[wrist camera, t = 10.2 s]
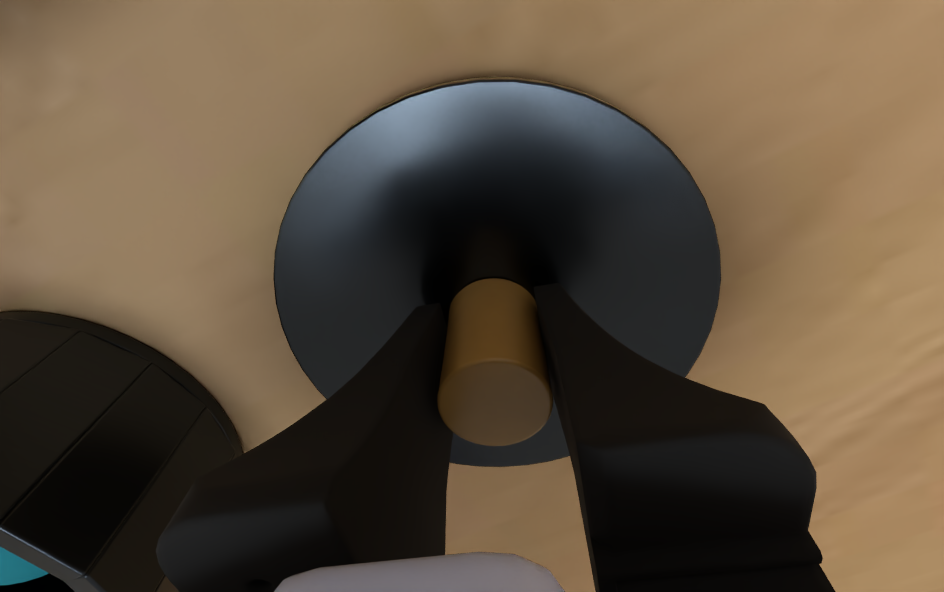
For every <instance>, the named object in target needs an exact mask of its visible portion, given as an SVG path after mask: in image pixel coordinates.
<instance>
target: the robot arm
mask: <svg viewBox="0 0 944 592" xmlns="http://www.w3.org/2000/svg"><path fill="white" fill-rule="evenodd" d="M534 294H535V300H536V306H537V311H538V317H539V323H540V329H541V335H542V339H543V343H544V347H545V351H546V357H547V363H548V369H549V375H550V381H551V387H552V393H553V397H554V401H555V404H556V408H557V411H558V415H559V419H560V422H561V426H562V429H563V433H564V436H565V440H566V443H567V447H568V450H569V454H570V457H571V461H572V465H573V470H574V474H575V479H576V485H577V490H578V496H579V501H580V507H581V512H582V518H583V524H584V529H585V535H586V540H587V546H588V551H589V557H590V563H591V568H592V574H593V579H594V585H595V591H596V592H835V590H834V589H833V587H832V585H831V584H830V582H829V580H828V579H827V577H826V575H825V573H824V572H823V570H822V568H821V567H820V565H819V564H820V563H822V554H821V551H820V549H819V548H818V546H817V545H816V543H815V541H814V540H813V538H812V536H811V535H810V533H809V531H808V527H809V522H810V517H811V512H812V508H813V503H814V498H815V493H816V471H815V469H814V467H813V465H812V463H811V461H810V459H809V457H808V456H807V454H806V453H805V452H804V450H803V449H802V448H801V446H800V445H799V443H798V442H797V441H796V439H795V438H794V437H793V436H792V434H791V433H790V432H789V431H788V430H787V429H786V427H785V426H784V425H783V424H782V423H781V422H780V421H779V420H778V419H777V418H776V417H775V416H774V415H773V414H772V412H771V411H770V410H769V409H768V408H767V407H766V406H765V405H764V404H762V403H759V402H756V401H752V400H749V399H746V398H742V397H739V396H735V395H732V394H729V393H725V392H722V391H719V390H716V389H713V388H710V387H707V386H705V385H702V384H700V383H697V382H694V381H692V380H689V379H687V378H684V377H682V376H680V375H678V374H675V373H673V372H671V371H669V370H667V369H665V368H663V367H661V366H659V365H657V364H655V363H653V362H651V361H649V360H647V359H646V358H644V357H642V356H640V355H639V354H637V353H635V352H634V351H632V350H631V349H629V348H628V347H626V346H625V345H623V344H622V343H621V342H619V341H618V340H617V339H615V338H614V337H613V336H612V335H610V334H609V333H608V332H607V331H605V330H604V329H603V328H602V327H601V326H599V325H598V324H597V323H596V322H595V321H594V320H593V319H592V318H591V317H590V316H589V315H587V314H586V313H585V312H584V311H583V310H582V309H581V308H580V307H579V305H578V304H577V303H576V302H575V301H574V300H573V299H572V298H571V296H570V295H569V294H568V293H567V291H566V290H565V289H564V287H563V286H562V285H560V284H559V283H554V284H548V285H542V286H536V287H534ZM446 327H447V326H446V323H445V319H444V315H443V312H442V308H441V305H440V303H435V304H429V305H423V306H417V307H416V308H415V309H414V310H413V311H412V312H411V314H410V315H409V316H408V317H407V318H406V320H405V321H404V322H403V323H402V324H401V326H400V327H399V328H398V329H397V330H396V331H395V333H394V334H393V335H392V336H391V337H390V338H389V340H388V341H387V342H386V343H385V344H384V345H383V347H382V348H381V349H380V350H379V351H378V352H377V353H376V354H375V355H374V356H373V357H372V358H371V359H370V360H369V361H368V362H367V363H366V364H365V366H364V367H363V368H362V369H361V370H360V371H359V372H358V373H357V374H356V375H355V376H354V377H353V378H351V379H350V380H349V381H348V382H347V383H346V384H345V385H344V386H343V387H341V388H340V389H339V390H338V391H337V392H335V393H334V394H333V395H332V396H331V397H330V398H328V399H327V400H326V401H324V402H323V403H322V404H320V405H319V406H318V407H316V408H315V409H314V410H312V411H311V412H309V413H308V414H307V415H305V416H304V417H303V418H301V419H300V420H298V421H297V422H296V423H294V424H293V425H291V426H290V427H288V428H287V429H285V430H283V431H282V432H280V433H279V434H277V435H276V436H274V437H272V438H271V439H269V440H267V441H266V442H264V443H262V444H260V445H259V446H257V447H255V448H254V449H252V450H250V451H248V452H246V453H245V454H243V455H241V456H239V457H237V458H235V459H233V460H231V461H229V462H227V463H225V464H223V465H221V466H219V467H217V468H215V469H213V470H211V471H209V472H207V473H205V474H203V475H201V476H199V477H197V478H196V480H195V482H194V483H193V485H192V486H191V488H190V490H189V491H188V493H187V494H186V496H185V498H184V499H183V501H182V502H181V504H180V506H179V507H178V509H177V510H176V512H175V514H174V515H173V517H172V518H171V520H170V522H169V523H168V525H167V526H166V528H165V530H164V531H163V533H162V534H161V536H160V538H159V540H158V544H157V548H156V554H157V558H158V562H159V565H160V568H161V569H162V571H163V572H164V574H165V575H166V577H167V578H168V580H169V581H170V582H171V583H172V584H173V585H174V586H175V587H176V588H177V590H178V591H179V592H565V591H564V590H563V588H562V587H561V586H560V584H559V583H558V581H557V580H556V579H555V577H554V576H553V575H552V573H551V572H550V571H549V570H548V569H546V568H545V567H543V566H541V565H539V564H536V563H534V562H532V561H529V560H527V559H525V558H523V557H520V556H518V555H516V554H507V553H490V552H471V553H461V554H451V555H445V527H446V490H447V478H448V469H449V461H450V454H451V447H452V440H453V432H452V431H451V430H450V429H449V428H448V427H447V425H446V424H445V423H444V421H443V420H442V418H441V416H440V413H439V411H438V407H437V394H438V387H439V379H440V372H441V364H442V357H443V350H444V342H445V335H446Z"/></svg>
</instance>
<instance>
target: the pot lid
mask: <svg viewBox="0 0 944 592" xmlns="http://www.w3.org/2000/svg"><path fill="white" fill-rule="evenodd" d="M554 283H559V284H560V285H562V286H563V287H564V289H565V290H566V291H567V293H568V294H569V295H570V296H571V298H572V299H573V300H574V301H575V302H576V303H577V304H578V305H579V307H580V308H581V309H582V310H583V311H584V312H585V313H586V314H587V315H589V316H590V317H591V318H592V319H593V320H594V321H595V322H596V323H597V324H598V325H599V326H601V327H602V328H603V329H604V330H605V331H607V332H608V333H609V334H610V335H612V336H613V337H614V338H615V339H617V340H618V341H619V342H621V343H622V344H623V345H625V346H626V347H628V348H629V349H631V350H632V351H634V352H635V353H637V354H639V355H640V356H642V357H644V358H646V359H647V360H649V361H651V362H653V363H655V364H657V365H659V366H661V367H663V368H665V369H667V370H669V371H671V372H673V373H675V374H678V375H680V376H682V377H684V378H685V377H686V375H687V374H688V373H689V371H690V370H691V368H692V366H693V365H694V363H695V361H696V360H697V358H698V357H699V355H700V353H701V351H702V349H703V347H704V344H705V342H706V340H707V338H708V335H709V333H710V331H711V328H712V324H713V321H714V317H715V314H716V310H717V306H718V300H719V292H720V283H721V264H720V249H719V244H718V239H717V234H716V229H715V224H714V222H713V219H712V216H711V214H710V211H709V208H708V206H707V203H706V200H705V198H704V196H703V194H702V193H701V191H700V189H699V188H698V186H697V184H696V182H695V181H694V179H693V177H692V175H691V174H690V172H689V171H688V170H687V168H686V167H685V166H684V165H683V163H682V162H681V161H680V160H679V159H678V157H677V156H676V155H675V154H674V152H673V151H672V150H671V149H670V148H669V147H668V146H667V145H666V144H665V143H664V142H663V141H661V140H660V139H659V138H658V137H657V136H656V135H655V134H654V133H652V132H651V131H650V130H649V129H648V128H647V127H646V126H644V125H643V124H642V123H640V122H639V121H637V120H636V119H634V118H632V117H631V116H629V115H628V114H626V113H625V112H623V111H622V110H620V109H619V108H617V107H615V106H614V105H612V104H610V103H607V102H605V101H603V100H601V99H599V98H596V97H594V96H592V95H590V94H587V93H585V92H583V91H580V90H576V89H573V88H569V87H566V86H562V85H559V84H555V83H552V82H547V81H540V80H532V79H525V78H517V77H478V78H471V79H465V80H458V81H452V82H445V83H441V84H438V85H434V86H431V87H428V88H424V89H421V90H418V91H415V92H411V93H409V94H407V95H405V96H402V97H400V98H398V99H396V100H394V101H392V102H390V103H388V104H385V105H383V106H381V107H379V108H378V109H376V110H375V111H373V112H372V113H370V114H369V115H367V116H366V117H364V118H363V119H361V120H360V121H358V122H357V123H355V124H354V125H352V126H351V127H350V128H349V129H347V130H346V131H345V132H344V133H343V134H342V135H341V136H340V137H339V138H338V139H336V140H335V141H334V142H333V143H332V144H331V145H330V146H329V147H328V148H326V149H325V150H324V152H323V153H322V154H321V155H320V156H319V158H318V159H317V160H316V161H315V163H314V164H313V165H312V166H311V168H310V169H309V170H308V171H307V173H306V174H305V175H304V177H303V179H302V181H301V182H300V184H299V186H298V187H297V189H296V191H295V193H294V194H293V196H292V198H291V200H290V202H289V205H288V207H287V210H286V213H285V215H284V218H283V220H282V223H281V226H280V230H279V235H278V240H277V244H276V249H275V260H274V288H275V298H276V305H277V309H278V313H279V317H280V321H281V325H282V329H283V331H284V333H285V336H286V338H287V341H288V343H289V346H290V348H291V350H292V352H293V354H294V356H295V357H296V359H297V361H298V363H299V364H300V366H301V368H302V370H303V371H304V372H305V374H306V375H307V376H308V378H309V379H310V380H311V382H312V383H313V384H314V386H315V387H316V388H317V390H318V391H319V392H320V393H321V394H322V395H323V396H324V397H325V398H326V399H328V398H330V397H331V396H332V395H333V394H334V393H335V392H337V391H338V390H339V389H340V388H341V387H343V386H344V385H345V384H346V383H347V382H348V381H349V380H350V379H351V378H353V377H354V376H355V375H356V374H357V373H358V372H359V371H360V370H361V369H362V368H363V367H364V366H365V364H366V363H367V362H368V361H369V360H370V359H371V358H372V357H373V356H374V355H375V354H376V353H377V352H378V351H379V350H380V349H381V348H382V347H383V345H384V344H385V343H386V342H387V341H388V340H389V338H390V337H391V336H392V335H393V334H394V333H395V331H396V330H397V329H398V328H399V327H400V326H401V324H402V323H403V322H404V321H405V320H406V318H407V317H408V316H409V315H410V314H411V312H412V311H413V310H414V309H415V308H416V307H417V306H423V305H429V304H435V303H440V305H441V308H442V312H443V315H444V319H445V323H446V326H447V327H446V335H445V342H444V350H443V357H442V364H441V372H440V379H439V387H438V394H437V407H438V411H439V413H440V416H441V418H442V420H443V421H444V423H445V424H446V425H447V427H448V428H449V429H450V430H451V431H452V432H453V440H452V447H451V454H450V461H449V462H450V463H455V464H462V465H471V466H482V467H508V466H521V465H530V464H536V463H542V462H548V461H553V460H556V459H560V458H564V457H568V456H570V454H569V450H568V447H567V443H566V440H565V436H564V433H563V429H562V426H561V422H560V419H559V415H558V411H557V408H556V404H555V401H554V397H553V393H552V387H551V381H550V375H549V369H548V363H547V357H546V351H545V347H544V343H543V339H542V335H541V329H540V323H539V317H538V311H537V306H536V300H535V294H534V287H536V286H542V285H548V284H554Z"/></svg>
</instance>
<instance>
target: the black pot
mask: <svg viewBox="0 0 944 592" xmlns="http://www.w3.org/2000/svg"><path fill="white" fill-rule="evenodd" d="M241 455H243V454H242V448H241V445H240V442H239V439H238V436H237V433H236V431H235V429H234V427H233V426H232V424H231V422H230V420H229V418H228V417H227V415H226V414H225V412H224V411H223V410H222V408H221V407H220V405H219V404H218V403H217V402H216V401H215V399H214V398H213V397H212V396H211V395H210V394H209V393H208V392H207V391H206V389H205V388H204V387H202V386H201V385H200V384H199V383H198V382H197V381H196V380H195V379H194V378H193V377H191V376H190V375H189V374H188V373H187V372H185V371H184V370H183V369H181V368H180V367H179V366H177V365H176V364H175V363H173V362H172V361H171V360H169V359H167V358H166V357H164V356H163V355H161V354H159V353H158V352H156V351H155V350H153V349H151V348H150V347H148V346H146V345H144V344H142V343H140V342H138V341H136V340H134V339H132V338H130V337H128V336H125V335H123V334H121V333H118V332H116V331H113V330H111V329H108V328H106V327H103V326H100V325H96V324H93V323H90V322H87V321H83V320H80V319H75V318H71V317H66V316H61V315H57V314H48V313H39V312H3V313H0V547H2V548H4V549H6V550H7V551H9V552H11V553H13V554H15V555H17V556H18V557H20V558H22V559H24V560H26V561H28V562H29V563H31V564H33V565H35V566H37V567H39V568H40V569H42V570H44V571H46V572H48V573H49V574H47V575H44V576H42V577H39V578H36V579H33V580H30V581H26V582H22V583H16V584H11V585H0V592H179V591H178V590H177V588H176V587H175V586H174V585H173V584H172V583H171V582H170V581H169V580H168V578H167V577H166V575H165V574H164V572H163V571H162V569H161V568H160V565H159V562H158V558H157V554H156V548H157V544H158V540H159V538H160V536H161V534H162V533H163V531H164V530H165V528H166V526H167V525H168V523H169V522H170V520H171V518H172V517H173V515H174V514H175V512H176V510H177V509H178V507H179V506H180V504H181V502H182V501H183V499H184V498H185V496H186V494H187V493H188V491H189V490H190V488H191V486H192V485H193V483H194V482H195V480H196V478H197V477H199V476H201V475H203V474H205V473H207V472H209V471H211V470H213V469H215V468H217V467H219V466H221V465H223V464H225V463H227V462H229V461H231V460H233V459H235V458H237V457H239V456H241Z"/></svg>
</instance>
